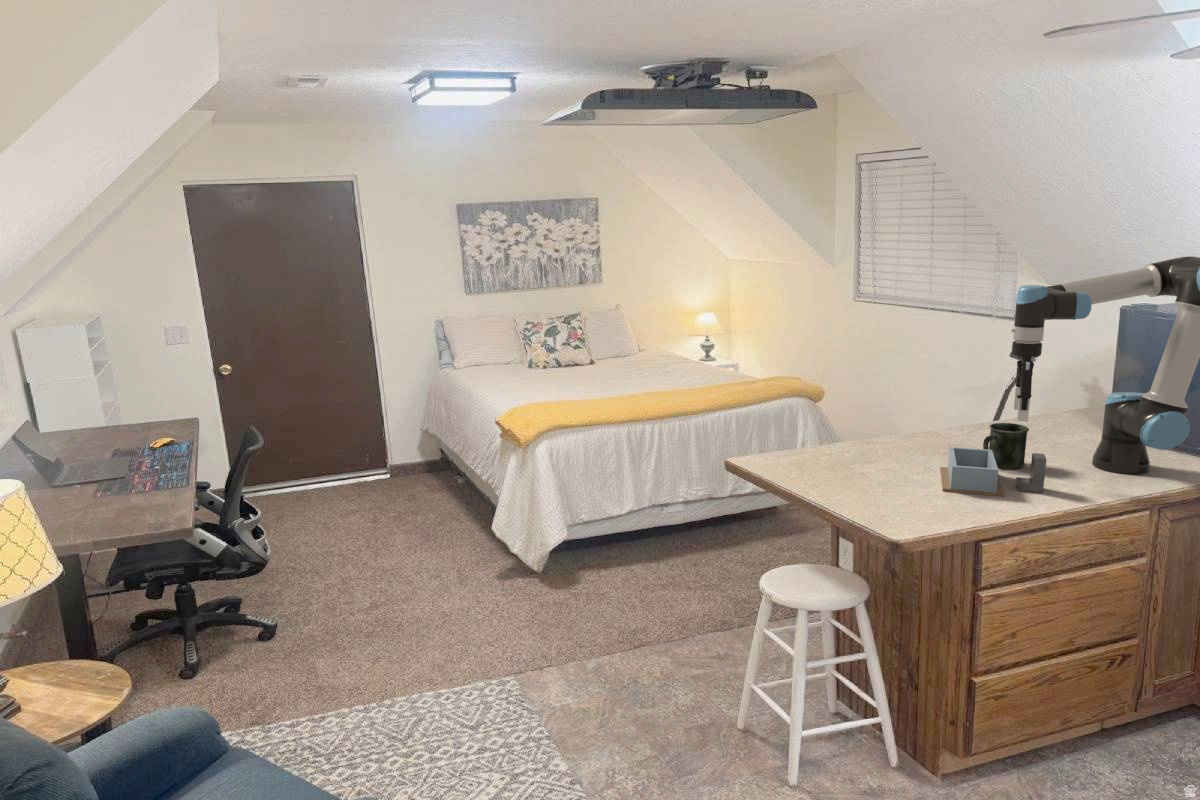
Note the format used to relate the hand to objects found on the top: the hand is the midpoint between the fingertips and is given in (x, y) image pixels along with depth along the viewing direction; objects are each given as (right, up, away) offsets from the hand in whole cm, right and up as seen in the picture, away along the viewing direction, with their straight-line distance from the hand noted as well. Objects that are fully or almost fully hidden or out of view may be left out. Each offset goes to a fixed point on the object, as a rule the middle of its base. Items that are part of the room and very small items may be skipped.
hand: (1020, 415), depth 254 cm
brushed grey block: (+2, -21, 0) cm, 21 cm away
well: (-11, -20, +6) cm, 24 cm away
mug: (+4, -16, +22) cm, 27 cm away
